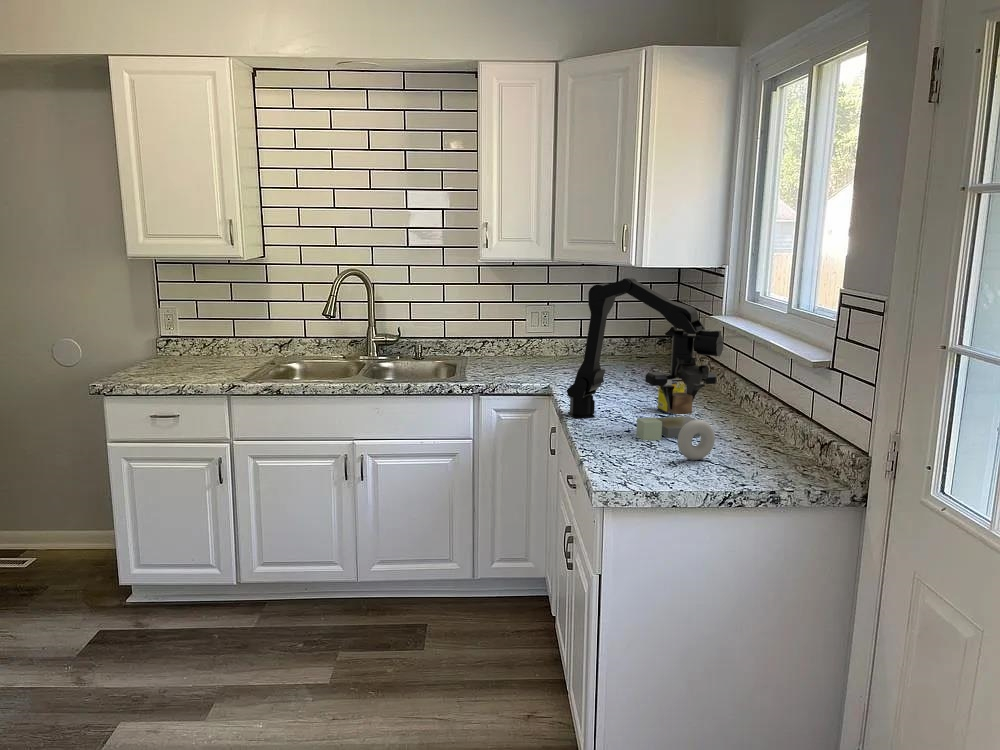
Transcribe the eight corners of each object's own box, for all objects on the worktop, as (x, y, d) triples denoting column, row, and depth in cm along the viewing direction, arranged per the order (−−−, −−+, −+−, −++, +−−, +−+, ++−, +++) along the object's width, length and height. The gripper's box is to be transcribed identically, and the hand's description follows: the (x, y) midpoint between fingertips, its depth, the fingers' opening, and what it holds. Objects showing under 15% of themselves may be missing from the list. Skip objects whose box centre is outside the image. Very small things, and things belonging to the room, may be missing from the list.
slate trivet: (667, 437, 205) (668, 428, 204) (649, 426, 216) (649, 418, 216) (708, 435, 207) (709, 426, 207) (688, 424, 219) (689, 416, 218)
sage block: (643, 441, 202) (644, 422, 201) (636, 436, 207) (637, 418, 206) (661, 440, 203) (662, 421, 202) (653, 435, 208) (654, 417, 207)
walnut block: (674, 414, 208) (675, 396, 207) (666, 410, 213) (667, 392, 212) (691, 413, 209) (692, 395, 208) (683, 409, 214) (684, 392, 213)
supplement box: (666, 414, 231) (668, 379, 229) (657, 410, 237) (658, 375, 235) (683, 413, 233) (685, 378, 231) (674, 409, 238) (676, 374, 236)
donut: (708, 455, 189) (710, 416, 187) (716, 459, 185) (719, 419, 184) (673, 459, 185) (675, 419, 183) (681, 463, 182) (683, 423, 180)
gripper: (663, 358, 198) (660, 416, 201) (728, 356, 202) (724, 414, 205) (645, 351, 209) (643, 407, 212) (708, 350, 213) (705, 404, 216)
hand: (679, 408), depth 211 cm, fingers closed on walnut block, 5 cm apart
